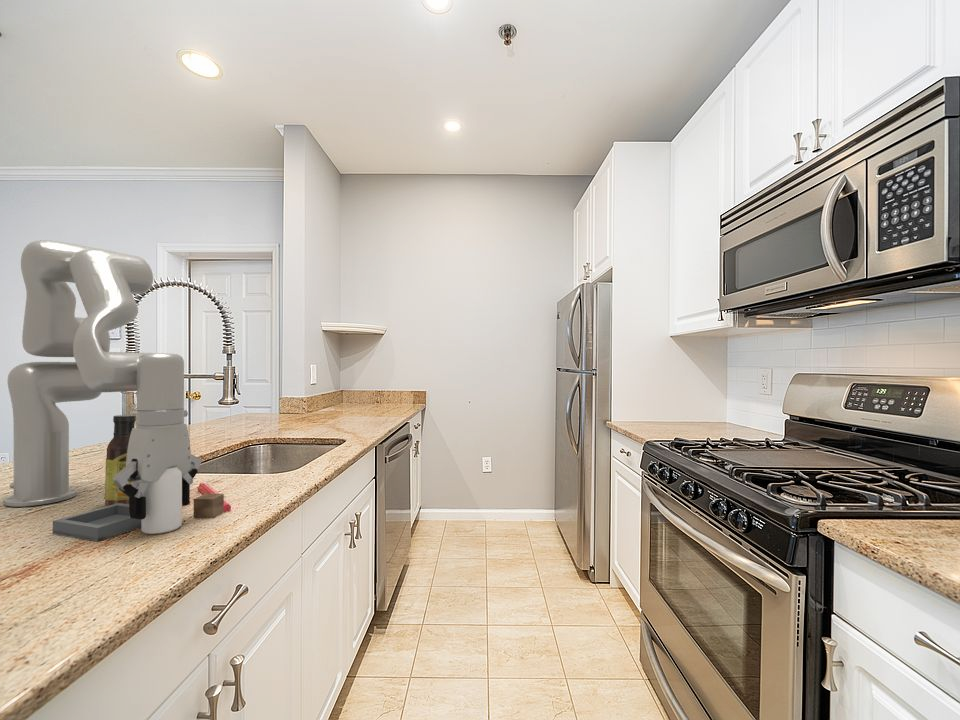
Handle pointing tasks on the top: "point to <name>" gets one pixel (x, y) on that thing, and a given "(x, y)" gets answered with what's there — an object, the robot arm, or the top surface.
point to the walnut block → (208, 505)
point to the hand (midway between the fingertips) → (161, 510)
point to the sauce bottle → (117, 458)
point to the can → (163, 503)
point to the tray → (97, 523)
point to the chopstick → (208, 490)
